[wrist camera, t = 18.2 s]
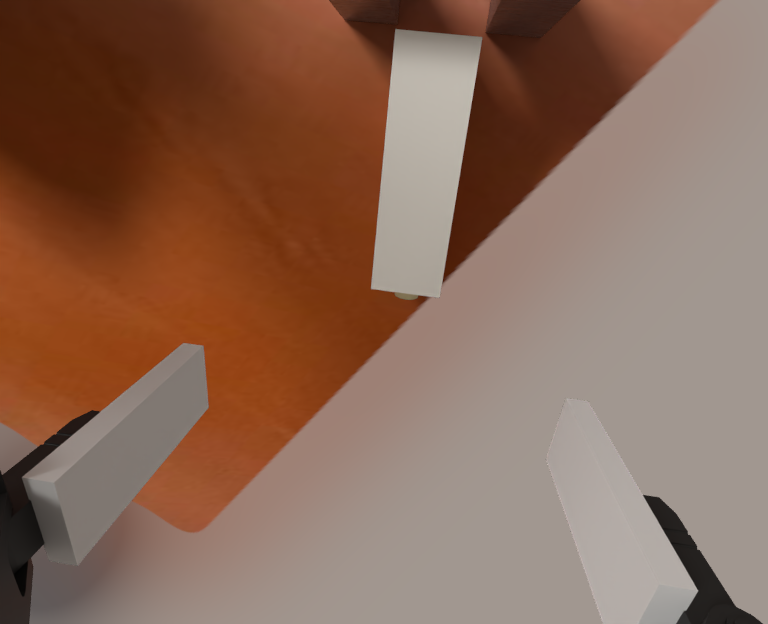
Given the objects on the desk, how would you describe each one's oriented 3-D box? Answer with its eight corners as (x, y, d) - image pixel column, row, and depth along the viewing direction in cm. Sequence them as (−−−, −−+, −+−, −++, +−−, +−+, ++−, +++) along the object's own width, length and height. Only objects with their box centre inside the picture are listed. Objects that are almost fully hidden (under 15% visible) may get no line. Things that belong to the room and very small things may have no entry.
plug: (382, 278, 39) (368, 314, 31) (405, 55, 32) (395, 29, 24) (435, 285, 39) (435, 323, 31) (470, 61, 32) (482, 37, 24)
